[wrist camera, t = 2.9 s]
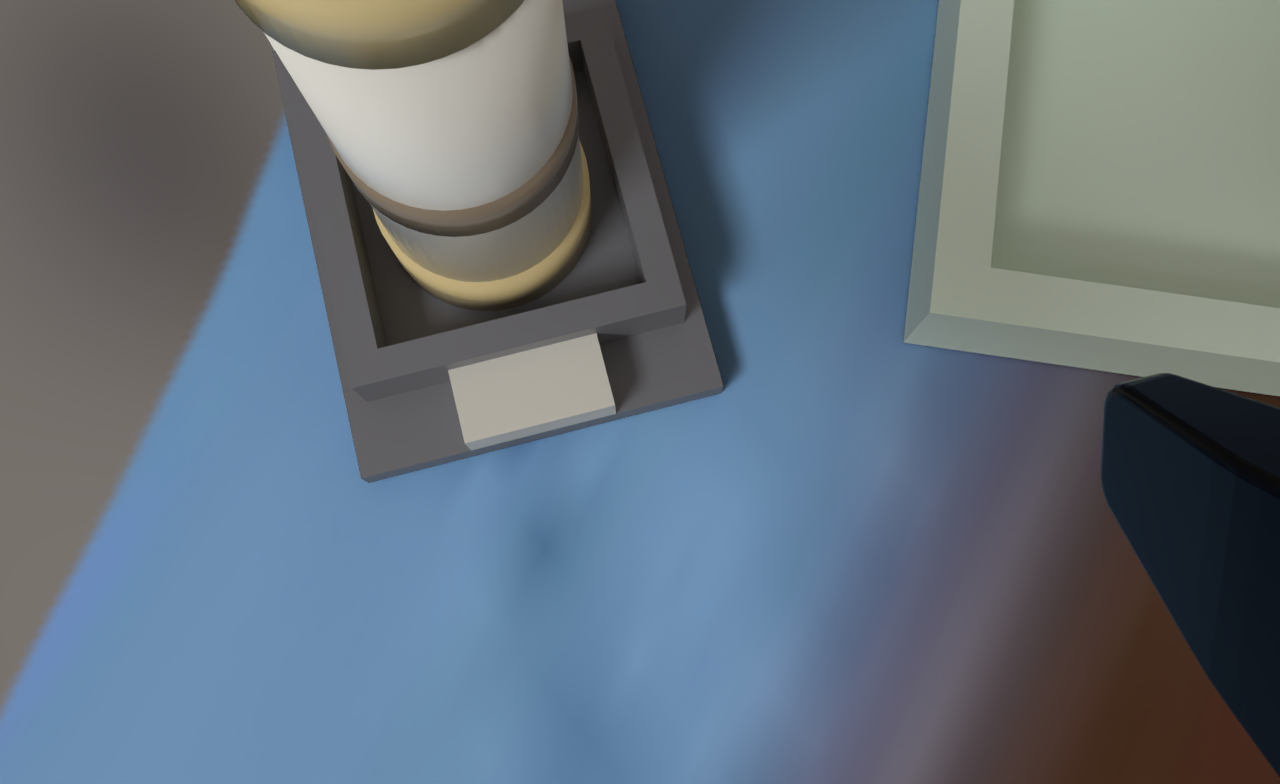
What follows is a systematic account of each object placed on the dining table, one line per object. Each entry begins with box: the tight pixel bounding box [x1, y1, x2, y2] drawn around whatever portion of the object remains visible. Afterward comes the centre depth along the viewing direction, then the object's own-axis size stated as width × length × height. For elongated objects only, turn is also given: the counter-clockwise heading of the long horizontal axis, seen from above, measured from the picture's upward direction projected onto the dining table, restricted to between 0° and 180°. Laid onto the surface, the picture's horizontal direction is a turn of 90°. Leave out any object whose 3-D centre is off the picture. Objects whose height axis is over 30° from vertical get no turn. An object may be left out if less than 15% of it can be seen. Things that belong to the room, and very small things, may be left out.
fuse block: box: [272, 0, 723, 483], centre depth 22 cm, size 9×7×2 cm
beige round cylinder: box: [234, 0, 592, 311], centre depth 17 cm, size 4×4×11 cm
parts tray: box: [903, 0, 1280, 396], centre depth 22 cm, size 10×10×2 cm
